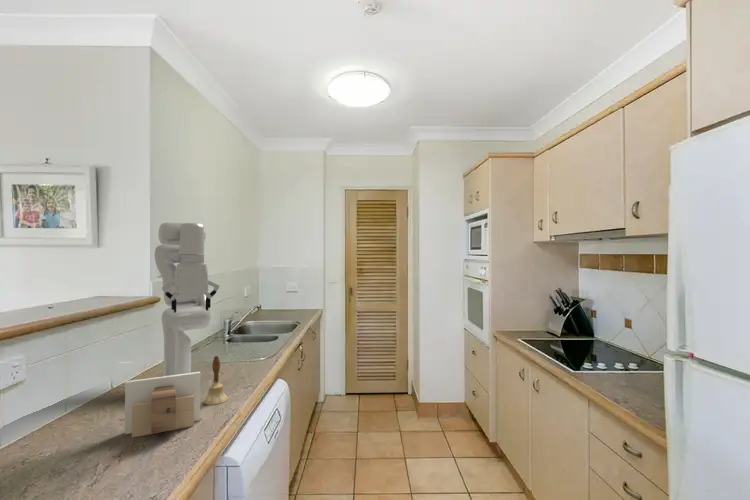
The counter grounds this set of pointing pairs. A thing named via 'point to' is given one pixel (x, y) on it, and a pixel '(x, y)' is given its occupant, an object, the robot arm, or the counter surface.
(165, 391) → the wall box
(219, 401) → the hand bell
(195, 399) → the wall board
